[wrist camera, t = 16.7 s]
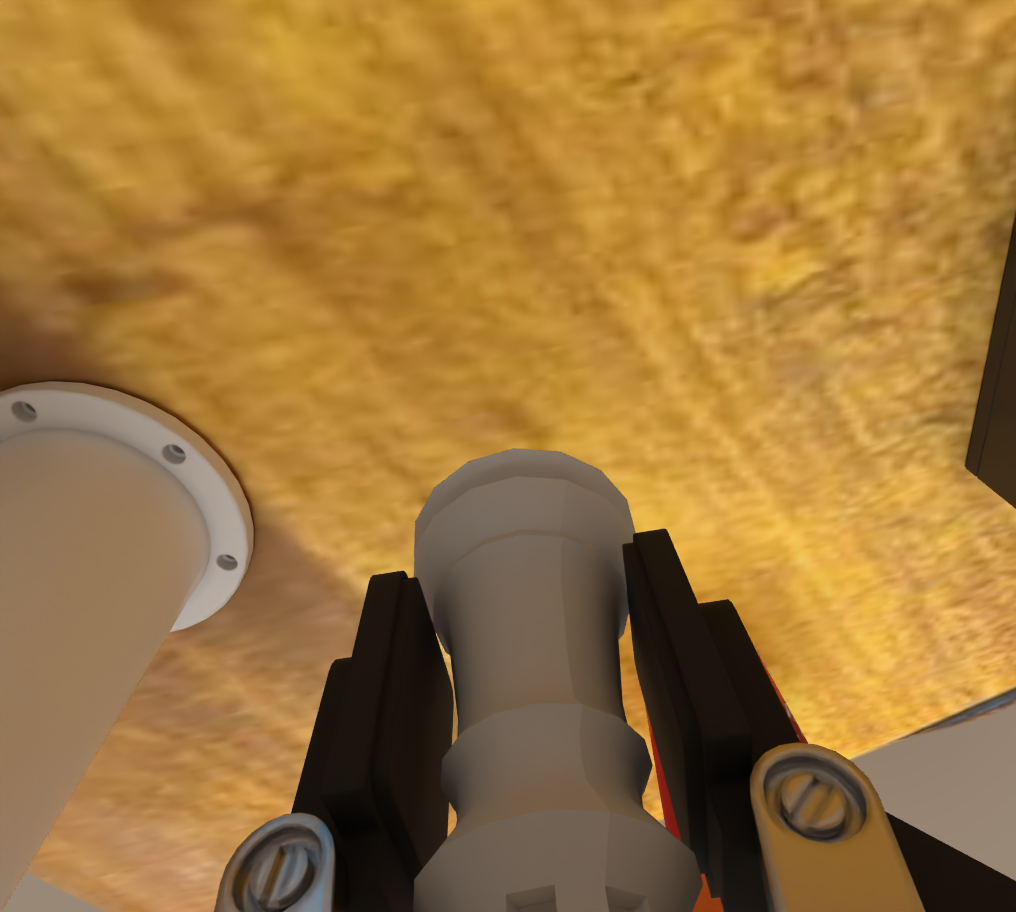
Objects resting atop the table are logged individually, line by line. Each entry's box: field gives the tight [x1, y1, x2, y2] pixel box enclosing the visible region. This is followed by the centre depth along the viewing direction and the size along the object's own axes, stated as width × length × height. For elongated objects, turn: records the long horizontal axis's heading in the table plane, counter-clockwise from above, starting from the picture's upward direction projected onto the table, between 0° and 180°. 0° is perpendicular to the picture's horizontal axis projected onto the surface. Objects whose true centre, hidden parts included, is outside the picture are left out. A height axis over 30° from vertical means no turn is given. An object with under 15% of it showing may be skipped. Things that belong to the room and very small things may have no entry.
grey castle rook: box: [413, 449, 703, 912], centre depth 10 cm, size 4×4×8 cm
